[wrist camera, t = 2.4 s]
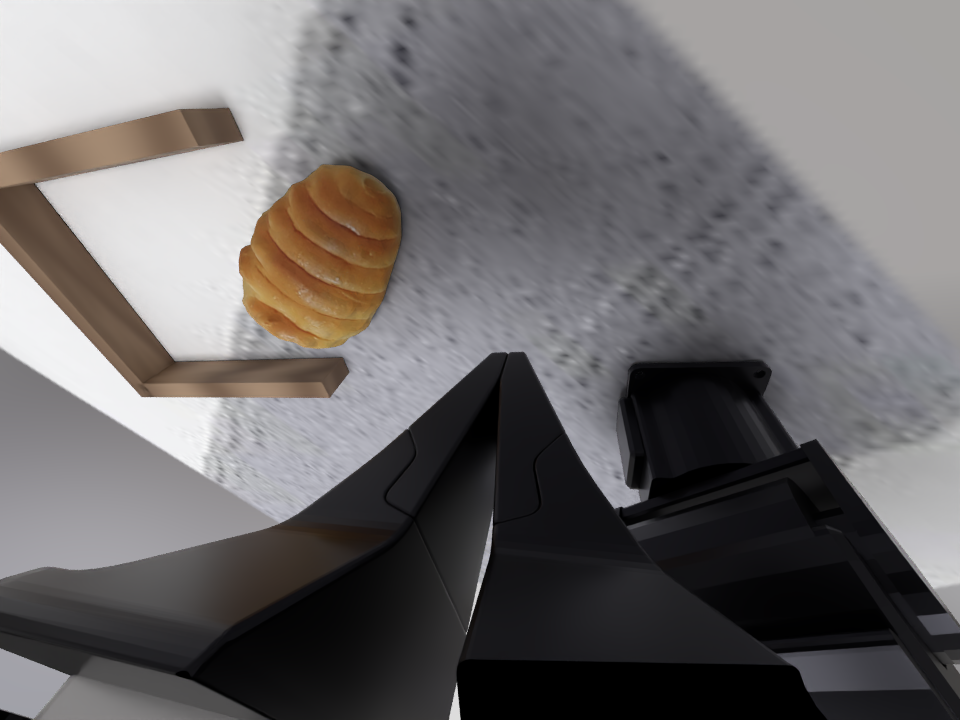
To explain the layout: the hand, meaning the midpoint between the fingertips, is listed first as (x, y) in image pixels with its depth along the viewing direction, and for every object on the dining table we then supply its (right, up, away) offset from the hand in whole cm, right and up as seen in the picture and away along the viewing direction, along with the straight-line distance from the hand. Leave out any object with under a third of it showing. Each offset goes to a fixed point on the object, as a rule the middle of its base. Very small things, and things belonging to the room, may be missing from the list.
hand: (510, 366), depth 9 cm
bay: (-18, +5, +12) cm, 23 cm away
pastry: (-9, +6, +10) cm, 14 cm away
